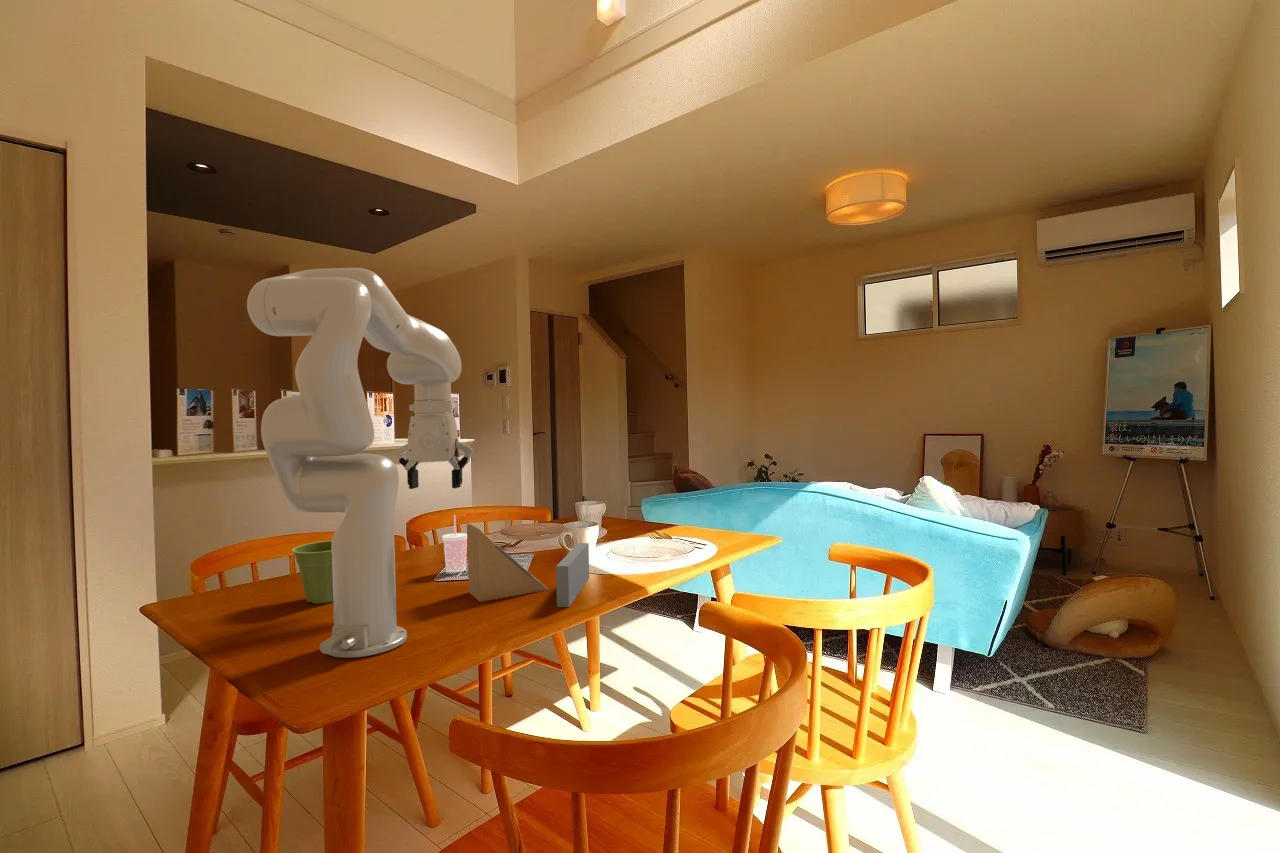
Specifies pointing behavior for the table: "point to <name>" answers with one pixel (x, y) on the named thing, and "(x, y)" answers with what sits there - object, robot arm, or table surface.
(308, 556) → the plant pot
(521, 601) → the table surface
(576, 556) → the board
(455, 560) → the beverage cup
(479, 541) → the beige triangular wedge
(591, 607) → the table surface
